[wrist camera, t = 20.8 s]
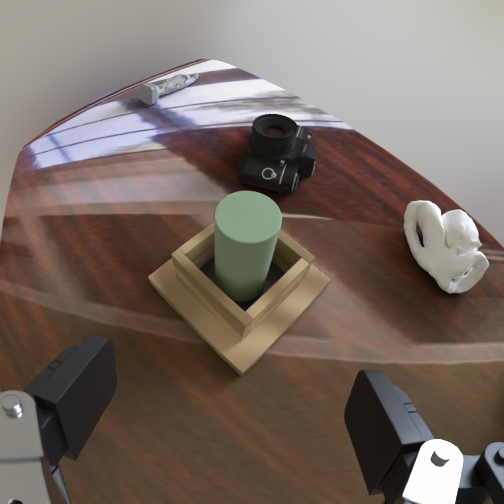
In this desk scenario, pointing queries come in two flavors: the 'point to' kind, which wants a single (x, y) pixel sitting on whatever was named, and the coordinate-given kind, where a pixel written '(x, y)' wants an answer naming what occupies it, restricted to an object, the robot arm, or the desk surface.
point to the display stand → (233, 312)
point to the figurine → (164, 87)
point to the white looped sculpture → (445, 245)
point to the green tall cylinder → (244, 243)
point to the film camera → (277, 154)
